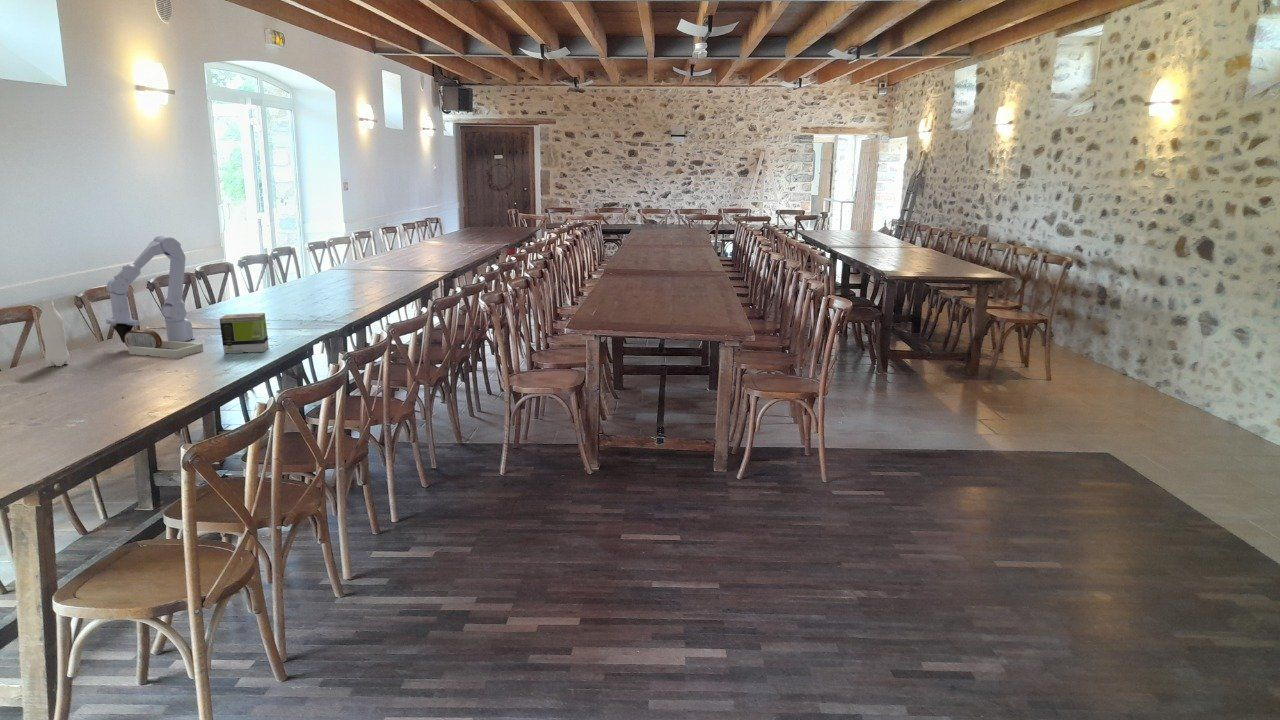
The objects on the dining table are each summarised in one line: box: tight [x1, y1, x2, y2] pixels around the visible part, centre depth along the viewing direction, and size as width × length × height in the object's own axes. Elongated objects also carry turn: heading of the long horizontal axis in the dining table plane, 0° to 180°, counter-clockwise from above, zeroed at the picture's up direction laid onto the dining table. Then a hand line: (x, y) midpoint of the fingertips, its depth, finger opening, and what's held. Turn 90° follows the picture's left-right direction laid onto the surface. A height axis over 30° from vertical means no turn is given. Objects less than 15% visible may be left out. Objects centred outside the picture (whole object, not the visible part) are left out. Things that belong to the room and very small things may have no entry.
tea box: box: [219, 312, 270, 355], centre depth 308 cm, size 15×10×15 cm, turn 105°
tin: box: [124, 329, 162, 349], centre depth 306 cm, size 15×3×8 cm, turn 82°
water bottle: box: [38, 298, 71, 367], centre depth 280 cm, size 7×7×25 cm
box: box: [127, 340, 204, 359], centre depth 304 cm, size 13×23×3 cm, turn 76°
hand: (125, 342), depth 308 cm, fingers closed
